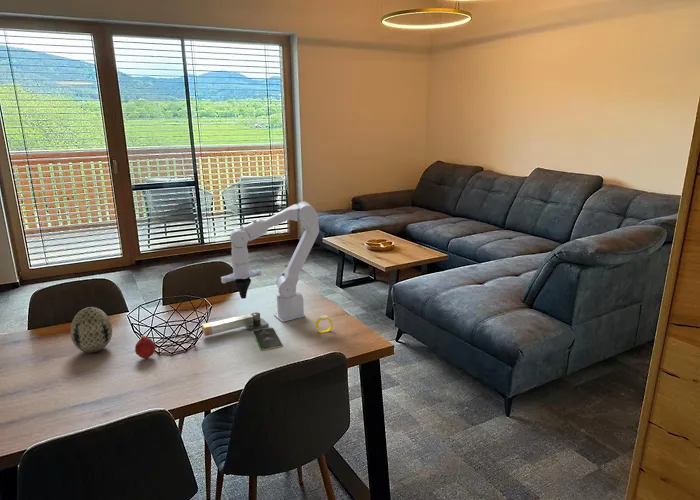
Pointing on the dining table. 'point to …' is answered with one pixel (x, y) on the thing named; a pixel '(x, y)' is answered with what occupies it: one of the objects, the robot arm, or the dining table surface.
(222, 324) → the swing bar
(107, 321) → the decorative egg
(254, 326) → the pivot plate
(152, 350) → the onion
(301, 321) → the dining table surface
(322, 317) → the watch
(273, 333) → the smartphone
